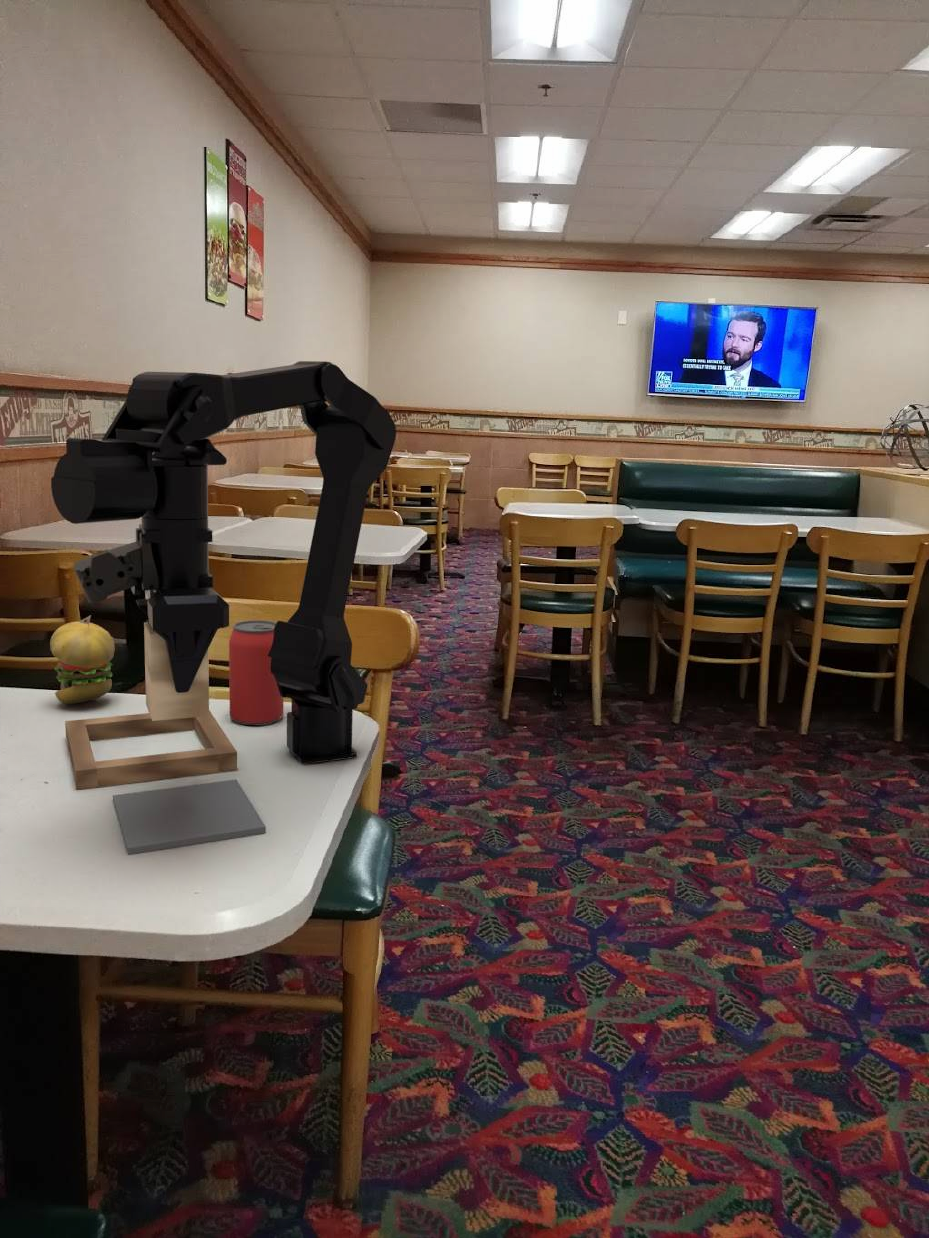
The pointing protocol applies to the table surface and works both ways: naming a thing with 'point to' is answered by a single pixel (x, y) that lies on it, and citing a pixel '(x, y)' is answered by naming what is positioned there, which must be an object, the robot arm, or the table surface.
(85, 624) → the hamburger
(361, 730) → the table surface
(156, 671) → the maple block
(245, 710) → the beer can
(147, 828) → the rubber mat
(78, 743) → the wooden frame
